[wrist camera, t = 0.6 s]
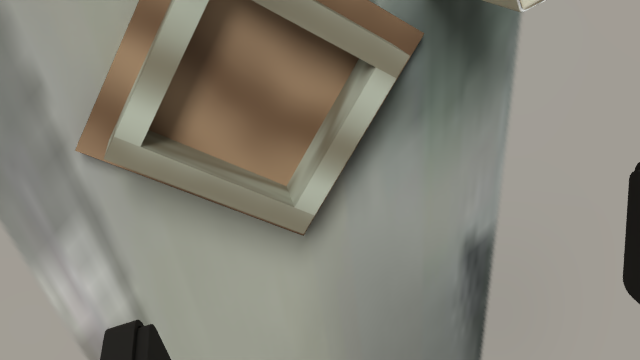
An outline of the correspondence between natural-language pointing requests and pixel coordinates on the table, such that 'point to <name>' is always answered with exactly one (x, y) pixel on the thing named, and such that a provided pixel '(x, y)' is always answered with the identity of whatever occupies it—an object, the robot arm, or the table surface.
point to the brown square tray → (248, 98)
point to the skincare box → (516, 4)
